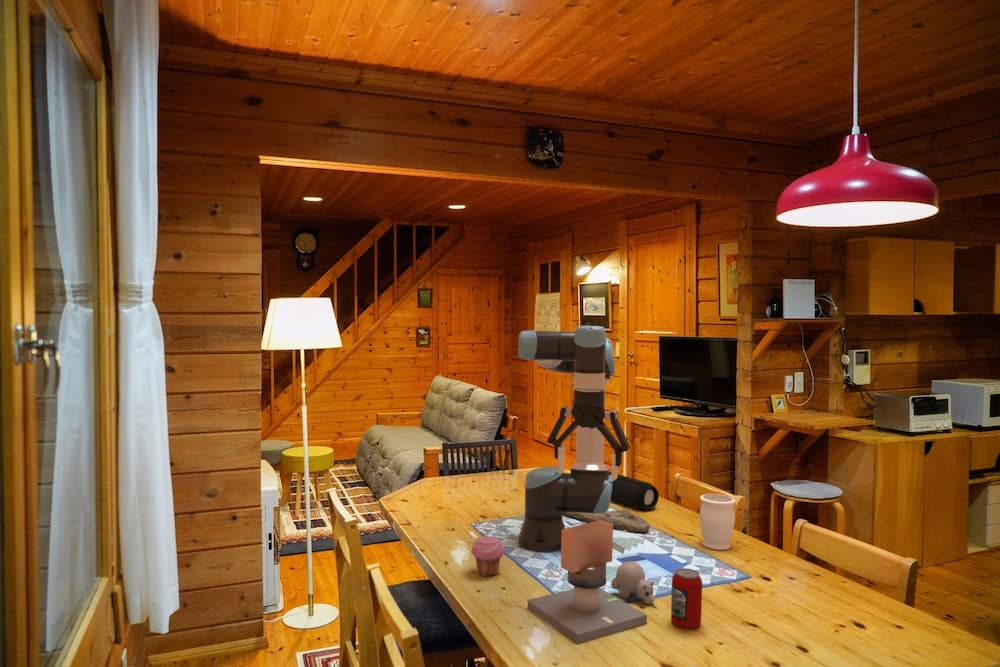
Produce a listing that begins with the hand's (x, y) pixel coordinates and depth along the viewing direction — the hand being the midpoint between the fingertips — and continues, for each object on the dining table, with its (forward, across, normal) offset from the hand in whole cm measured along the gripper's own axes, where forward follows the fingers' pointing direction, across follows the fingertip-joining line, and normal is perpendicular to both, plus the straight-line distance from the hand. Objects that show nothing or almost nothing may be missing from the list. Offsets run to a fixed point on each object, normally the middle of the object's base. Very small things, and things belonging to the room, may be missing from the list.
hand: (587, 475), depth 166 cm
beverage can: (+32, -25, 0) cm, 40 cm away
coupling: (+23, -2, +7) cm, 24 cm away
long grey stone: (+34, +14, -65) cm, 75 cm away
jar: (+33, -25, -58) cm, 71 cm away
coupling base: (+32, -2, +7) cm, 32 cm away
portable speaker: (+35, +12, -92) cm, 99 cm away
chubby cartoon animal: (+32, -11, -8) cm, 35 cm away
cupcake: (+32, +30, -6) cm, 44 cm away
